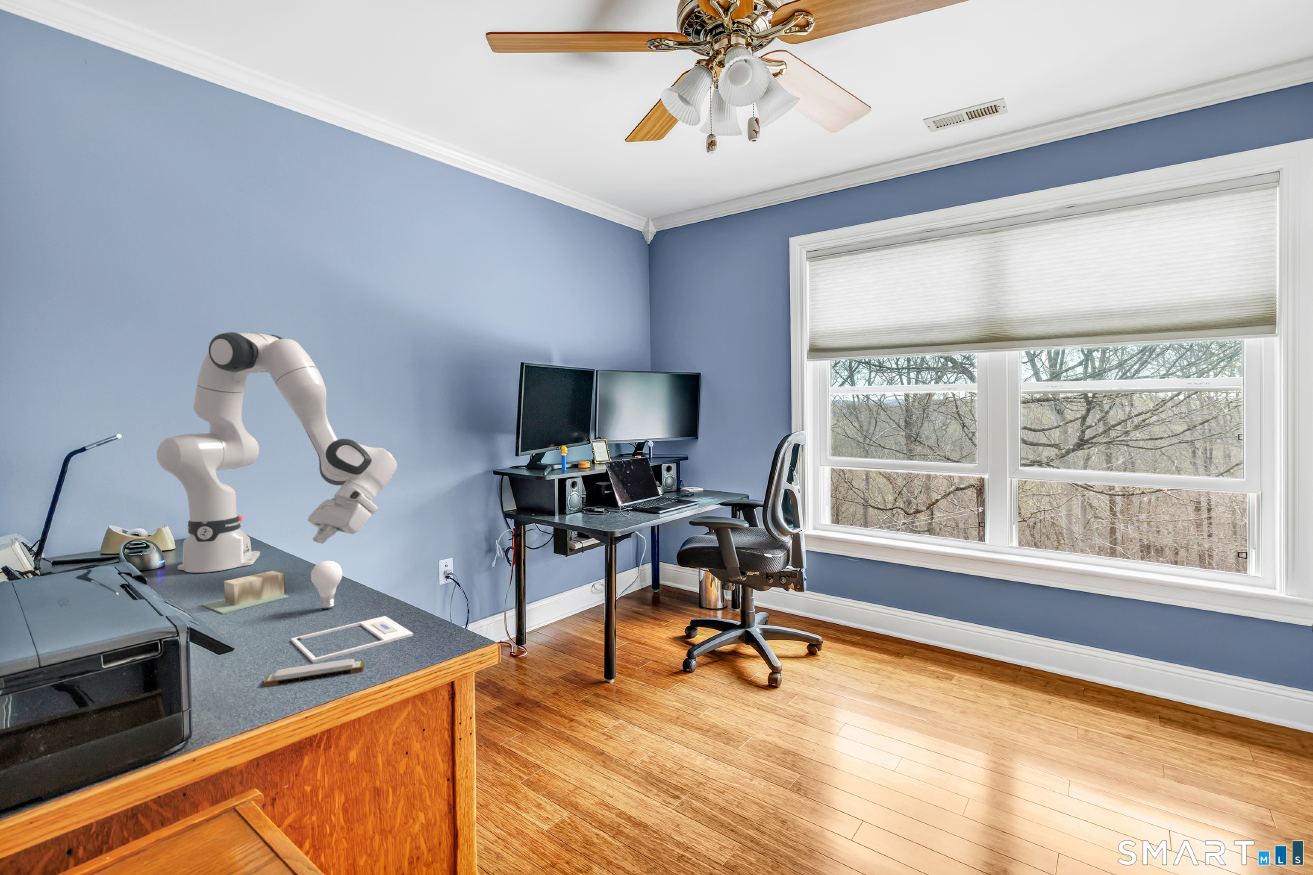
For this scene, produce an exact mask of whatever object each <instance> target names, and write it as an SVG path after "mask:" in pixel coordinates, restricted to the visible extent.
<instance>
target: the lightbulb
mask: <svg viewBox="0 0 1313 875" xmlns="http://www.w3.org/2000/svg"><path fill="white" fill-rule="evenodd" d="M342 578H343V569H342V567H341V565H340V564H339V563H338V562H336V561H333V560H322V561H320V562H317V564H315V565H314V567H313V568H312V570H311V572H310V580H311V583H312V584H313V585H314V586H315V588H316V589H317V591H318V594H319V596H320V600H321V601H320V602H321V604H320V606H321V608H322V609H326V610H329V609H332V607H334V606H335V594H336V590H337V587H338V585H339V584H340V582H341V580H342Z"/></svg>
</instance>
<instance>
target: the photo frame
mask: <svg viewBox="0 0 1313 875" xmlns="http://www.w3.org/2000/svg"><path fill="white" fill-rule="evenodd" d="M357 626H361V627H363V628H364V629H365V630H367V631H368V632H370V633H371V634H372V635H374V636H375V637H376V638H377V639H379V640H378V641H373V642H370V643H367V644H362V645H359V646H355V647H352V648H351V647H350V648H348V649H344V650H340V651H336V652H332V653H330V654H329V653H328V654H325V655H320V656H318V657H316V656H315V655H314V654H313V653H312V652H311V651H310V650H308V648H307V647H306V646H304V645H303V643H301V642H300V641H299V640H305V639H309V638H314V637H317V636H322V635H326V634H330V633H334V632H338V631H342V630H346V629H350V628H354V627H357ZM413 636H414V633H413V632H412V631H411V630H409V629H408V628H406V627H404V626H402V625H401V624H399V623H397V622H396V621H394V620H393V619H391V618H390V617H388V616H386V615H384V616H378V617H375V618H371V619H366V620H361V621H359V622H353V623H350V624H347V625H342V626H338V627H334V628H329V629H325V630H321V631H316V632H313V633H309V634H304V635H299V636H297V637H292V638H290V641H291V643H293V644H294V646H296V648H297V649H299V651H300V652H302V654H304V656H305V657H306V658H308V660H310V662H311V663H313V664H316V663H318V662H319V663H320V662H321V661H322V662H323V661H326V660H329V659H333V658H336V657H342V656H345V655H347V654H352V653H354V652H355V653H356V652H358V651H361V650H365V649H369V648H372V647H373V648H374V647H378V646H381V645H383V644H388V643H391V642H395V641H399V640H401V639H406V638H409V637H413Z"/></svg>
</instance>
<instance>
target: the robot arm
mask: <svg viewBox="0 0 1313 875" xmlns="http://www.w3.org/2000/svg"><path fill="white" fill-rule="evenodd" d="M257 373H269V375H270V377H271V378H272V380H273V382H274V384H275V385H276V387H277V389H278V391H279V392H280V394H281V396H282V397H283V398H284V400H285V401H286V403H287V404H288V406H289V407H290V409H291V410H292V411H293V413H294V414H295V416H296V417H297V419H298V420H299V422H300V423H301V425H302V427H303V428H304V430H305V432H306V434H307V436H308V438H309V439H310V441H311V443H312V446H313V447H314V450H315V451H316V454H317V456H318V462H319V463H318V465H319V467H318V468H319V474H320V475H321V478H322V479H323V480H324V481H325V482H327V483H328V484H330V485H334V486H340V488H339V489H338V490H337V491H336V493H335V494H333V496H334V497H332V498H330V499H326V500H324V501H323V502H321V503H320V504H319V505H318V506H317V507H316V508H315V509H314V510H313V511H312V512H311V514H309V516H308V519H307V521H308V523H310V524H311V525H313V526H314V527H315V528H318V529H317V531H316V533H315V535H314V536H313V537H312V541H314V542H315V543H317V544H322V545H323V544H324V543H325V542H327V540H328V539H330V538H331V537H332V536H334V535H335V534H336V533H337V532H339V533H340V532H341V533H344V534H345V533H346V534H350V535H354V534H356V533H357V532H359V531H360V530H361V529H362V528H363V526H365V524H366V523H367V522H368V521H369V520H370V518H371V517H372V515H374V514H375V513H376V512H377V511H378V510H379V508H378V506H377V505H376V504H375V503H373V502H374V501H375V499H376V497H377V495H378V493H379V492H380V491H382V490H383V489H384V488H385V487H386V486H387V485H388V484H389V482H390V481H391V479H392V478H393V477H394V475H395V473H396V471H397V469H398V462H397V459H396V457H395V456H394V455H393V454H392V452H390V451H389V450H388V449H385V448H384V447H372V446H369V445H364V444H361V443H358V442H357V441H354V440H352V439H349V438H340V439H339V438H337V435H336V434H335V431H334V429H333V428H332V426H331V424H330V422H329V419H328V416H327V415H328V414H327V388H326V385H325V382H324V379H323V377H322V374H321V372H320V371H319V369H318V367H317V366H316V364H315V363H314V360H312V358H311V356H310V355H309V353H307V352H306V351H305V349H304V348H303V346H301V344H300V343H298V341H296V340H295V339H291V338H283V337H281V336H279V335H275V334H266V333H260V332H234V331H229V332H223V333H220V334H217V335H215V336H214V337H213V338H212V339H211V340H210V342H209V345H208V351H207V353H206V354H205V356H204V358H203V360H202V364H201V366H200V370H199V373H198V376H197V383H196V388H195V395H194V402H193V411H194V412H195V414H196V415H197V417H199V418H200V419H201V420H203V421H205V422H206V423H209V432H208V433H185V434H180V435H175V436H174V435H173V436H170V437H166V438H164V439H163V440H162V441H161V442H160V444H159V445H158V448H157V450H156V460H157V461H158V464H159V466H160V467H162V469H163V470H165V471H166V472H167V473H170V474H172V475H173V476H174V477H176V478H177V480H178V481H180V484H182V486H183V487H184V490H185V492H186V495H187V502H188V509H189V510H188V511H189V521H187V529H188V530H187V531H188V532H187V533H188V534H189V535H188V537H186V538H185V539H184V540H183V544H182V548H183V549H182V564H179V565H177V570H180V571H184V572H186V573H197V574H198V573H211V572H219V571H225V570H231V569H235V568H238V567H244V566H245V567H246V566H250V565H253V564H254V563H255V561H256V560H257V559H258V558H259V557H260V555H261V552H260V551H258V550H252V545H251V538H250V537H249V536H248V535H247V534H246V533H245V532H244V531H243V530H242V529H241V523H242V522H243V516H242V514H240V515H238V509H237V506H238V505H237V492H236V491H235V490H234V488H233V487H232V486H230V485H228V484H225V483H224V482H223V483H222V482H221V481H220V480H219V478H218V475H217V471H225V470H236V469H240V468H243V467H248V466H250V465H252V464H254V463H255V462H256V461H257V459H258V457H259V454H260V446H259V442H258V441H257V440H256V439H255V437H254V436H253V435H251V434H250V433H249V432H248V431H247V429H246V427H245V425H244V423H243V417H242V416H243V415H242V414H243V404H244V395H245V392H246V391H245V390H246V383H247V379H248V376H249V375H250V374H257Z"/></svg>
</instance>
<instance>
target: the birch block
mask: <svg viewBox="0 0 1313 875" xmlns="http://www.w3.org/2000/svg"><path fill="white" fill-rule="evenodd" d="M223 582H224V585H223V586H224V599H225V602H226V603H229V604H231V605H234V606H236V605H240V604H244V603H248V602H252V601H256V600H260V599H264V598H268V597H272V596H277V595H281V594H285V595H286V574H285V573H284V572H282V571H278V570H271V571H270V570H269V571H265V572H261V573H257V574H251V575H247V576H243V577H238V578H237V577H236V578H233V579H228V580H224V581H223Z"/></svg>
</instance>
